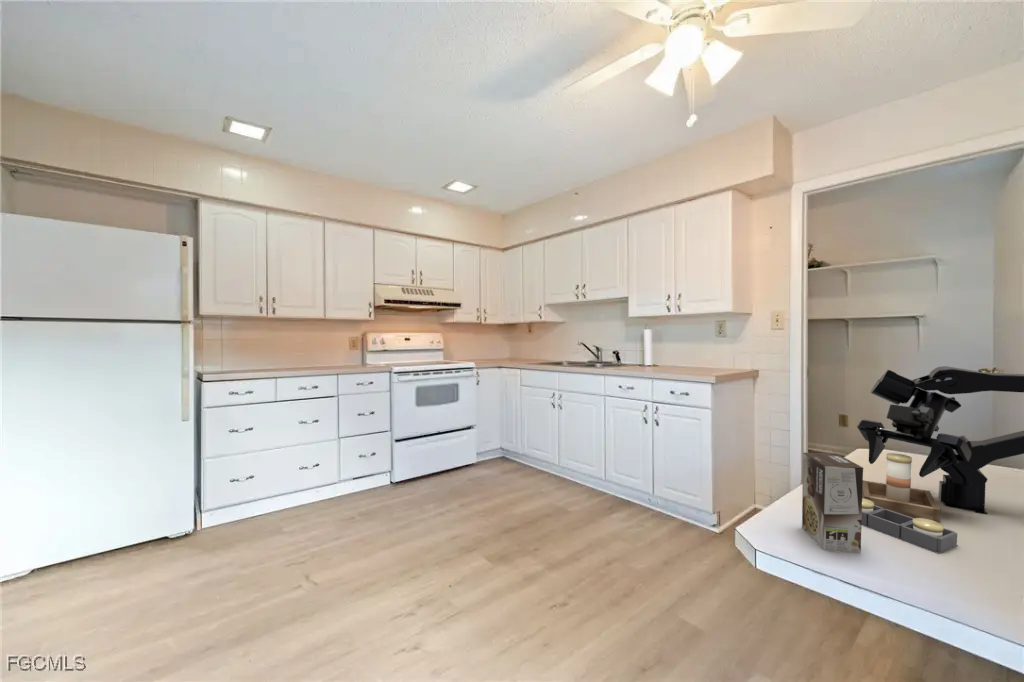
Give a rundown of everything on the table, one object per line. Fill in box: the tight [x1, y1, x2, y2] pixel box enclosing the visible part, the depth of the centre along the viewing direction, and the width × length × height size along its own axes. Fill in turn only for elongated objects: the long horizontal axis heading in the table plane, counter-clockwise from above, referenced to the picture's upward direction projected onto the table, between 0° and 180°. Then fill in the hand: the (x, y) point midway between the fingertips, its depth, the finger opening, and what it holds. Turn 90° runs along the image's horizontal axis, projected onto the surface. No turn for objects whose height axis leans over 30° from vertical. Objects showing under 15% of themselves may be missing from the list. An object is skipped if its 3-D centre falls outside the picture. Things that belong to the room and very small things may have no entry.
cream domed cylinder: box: [862, 498, 874, 513], centre depth 92 cm, size 4×4×4 cm
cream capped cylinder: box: [885, 452, 913, 503], centre depth 97 cm, size 4×4×11 cm
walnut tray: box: [862, 479, 941, 524], centre depth 97 cm, size 12×12×4 cm
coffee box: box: [801, 452, 864, 554], centre depth 83 cm, size 9×6×16 cm
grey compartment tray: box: [862, 505, 959, 555], centre depth 87 cm, size 17×7×3 cm, turn 24°
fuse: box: [913, 518, 945, 538], centre depth 82 cm, size 4×4×4 cm
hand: (894, 469), depth 96 cm, fingers open, 9 cm apart
